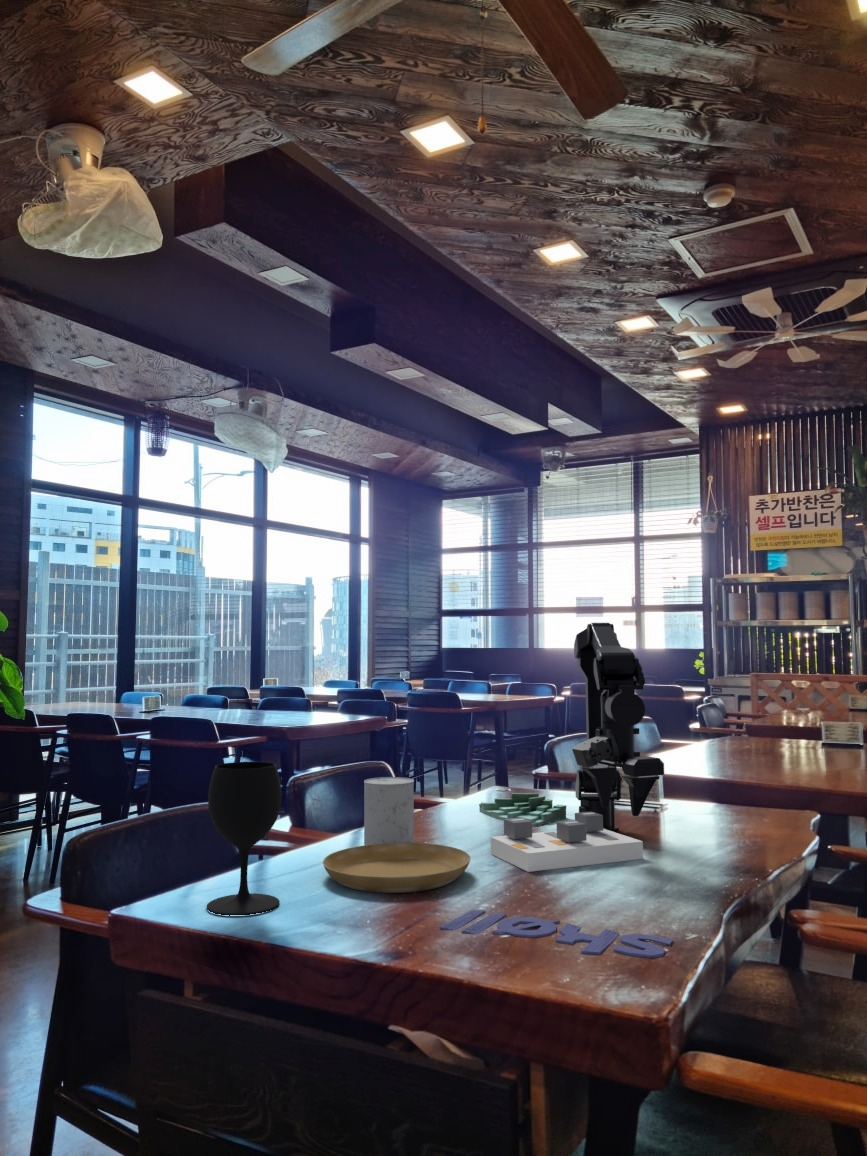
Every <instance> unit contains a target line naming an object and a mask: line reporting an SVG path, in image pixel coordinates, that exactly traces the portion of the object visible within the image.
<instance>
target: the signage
mask: <svg viewBox="0 0 867 1156" xmlns="http://www.w3.org/2000/svg"><path fill="white" fill-rule="evenodd" d="M485 913H486V910H483V909H482V910H481V909H478V910H477V909H472V910H469V911H467V912H465V913H463V914H462V915H460V916H458V917H456V918H454V919H452V920H450V921H447V922H446V923H445V924H443V925H442V924H441V926H439V930H443V931H444V930H445V931H457V930H458V929H461V928H462V927H464V926H465V925H466V924H469V923H470V922H472V921H473V920H475V919H476V918H478V917H480V916H482V915H483V914H485ZM504 917H507V913H497V912H496V913H495V912H492V913H490V914H489V915H487V916H485V917H484V918H482V919H481V920H478V921H477V922H475V923H474V924H471V925H469V926H468V927H466V928H464V929H462V930H461V933H462V934H469V935H471V934H473V935H479V934H481V933H483V932H484V931H485V930H486V929H488V928H490V927H492V926H493V925H494V924H496V927H497V929H495V930H492V931H491V933H492V934H494V935H500V936H502V935H509V936H512V937H518V938H519V937H520V938H532V939H533V938H540V937H546V936H550V935H552V934H555V933H557V924H560V923H561V920H556V919H554V920H552V919H546V918H545V919H544V918H540V917H535V916H525V917H524V916H520V917H519V916H516V917H515V916H513V917H509V918H505V919H504ZM501 919H502V920H501ZM519 924H520V925H519ZM581 929H582V927H581V926H579V925H576V924H572V923H568V922H567V923H565V924H564V926H562V927H561V928H560V929H559V931H558V934H559V935H560V936H559V937H557V938H556V939H555V942H556V943H559V944H564V945H565V944H566V945H571V946H572V945H574V944H575V943H580V942H585V943H588V944H587V945H586V946H585V947H584V948H582V950H581V954H583V955H584V954H585V955H596V956H597V955H598V956H600V955H601V954H602V953H603V952H604V951H605V950H606V949H607V948H608V947H609V946H610V945H611V944H612V943H613V942H614V941H615V940H616V939H617V938H618V937H617V935H618V933H619V931H618V930H617V931H615V930H610V929H609V928H608V929H607V928H605V929H604V930H602V931H601V932H600V933H599V934H598V935H594V934H590V933H589V934H588V933H584V932H583V933H582V932H580V930H581ZM619 940H620V941H619V942H620V943H621V944H624V945H626V946H624V945H616V946H615V947H614V948H613V952H614V953H617V954H621V955H625V956H631V957H639V958H648V959H649V958H651V959H652V958H653V959H654V958H660V957H663V956H664V955H665V954H666V950H665V948H663V947H662V946H660V945H662V944H665V945H664V946H666V945H669V946H668V947H670V946H671V945H672V944H673V943H674V939H671V938H666V937H662V936H657V935H651V934H639V933H628V934H622V935H619ZM640 940H649V941H653V942H657V943H660V944H659V945H656V944H657V943H656V944H654V943H653V942H652V943H651V942H649V941H640ZM672 942H673V943H672ZM671 943H672V944H671ZM670 944H671V945H670ZM627 946H629V947H627ZM664 953H665V954H664Z"/></svg>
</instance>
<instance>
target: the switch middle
mask: <svg viewBox="0 0 867 1156" xmlns="http://www.w3.org/2000/svg"><path fill="white" fill-rule="evenodd" d="M556 831H557V838H559V839H562V840H564V841H567V842H576V841H586V824H584V823H581V822H578V821H575V819H573V820H572V819H571V820H561V821H560V820H558V821H556Z"/></svg>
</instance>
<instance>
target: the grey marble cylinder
mask: <svg viewBox="0 0 867 1156" xmlns="http://www.w3.org/2000/svg"><path fill="white" fill-rule="evenodd" d="M414 782H415V779H413V778H409V777H401V776H380V777H373V778H372V777H371V778H367V779H364V781H363V783H364V785H363V786H364V788H363V789H364V790H363V791H364V793H363V795H364V797H363V798H364V800H363V803H364V805H363V807H364V808H363V809H364V815H363V816H364V817H363V819H364V820H363V821H364V823H363V827H364V829H363V833H364V834H363V846H364V845H371V844H382V843H415V842H414V841H415V840H414V839H415V837H414V835H415V834H414V833H415V832H414V830H415V829H414V828H415V824H414V823H415V822H414V821H415V818H414V817H415V816H414V814H415V813H414V811H415V810H414V809H415V808H414V807H415V806H414V805H415V804H414V802H415V801H414V800H415V799H414V791H415V790H414V787H415V783H414Z"/></svg>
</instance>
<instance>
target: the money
mask: <svg viewBox="0 0 867 1156" xmlns="http://www.w3.org/2000/svg"><path fill="white" fill-rule="evenodd" d="M510 796H511V798H504V797H501V798H498V797H497V798H496V797H495V798H493V799H494V800H493V802H492V801H491V802H489V801H488V802H487V801H484V802H483V801H481V802H480V803H479V804H478V805H479V813H481V814H482V815H486V816H487V817H488V816H489V817H490V818H495V819H497V820H500V821H504V819H511V818H524V819H527V820H529V821H532V827H540V826H543V825H544V823H545V824H549V822H550V823H553V821H554V822H558V821H560V820H564V819H566V818H567V805H564V804H556V805H553V799H550V798H546V796H545V795H543V796H542V795H541V796H540V795H539V793H535V792H529V793H527V792H525V793H524V792H511V794H510ZM542 824H543V825H542ZM539 825H540V826H539Z"/></svg>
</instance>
